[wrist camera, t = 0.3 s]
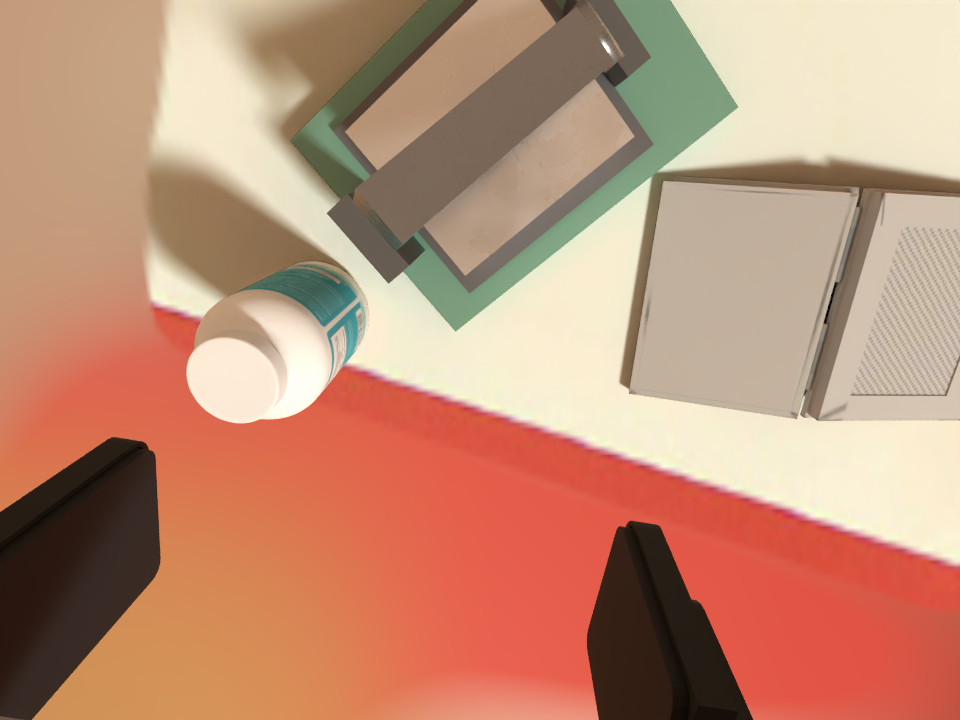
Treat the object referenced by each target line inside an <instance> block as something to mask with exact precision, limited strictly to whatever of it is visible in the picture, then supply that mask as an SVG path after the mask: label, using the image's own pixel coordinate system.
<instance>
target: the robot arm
mask: <svg viewBox="0 0 960 720" xmlns="http://www.w3.org/2000/svg"><path fill="white" fill-rule="evenodd" d="M157 500H158V499H157V480H156V459H155V454H154V452H153V451H150V450H149V449H148V446H147V445H146V443H144V442H141V441H135V440H129V439H123V438H117V437H112V438H110V439H108V440H106V441H105V442H103V443H102V444H100V445H99V446H98V447H96V448H95V449H93V450H92V451H90V452H89V453H87V454H86V455H84V456H83V457H81V458H80V459H78V460H77V461H75V462H74V463H72V464H71V465H69V466H68V467H66V468H65V469H63V470H62V471H60V472H59V473H57V474H56V475H55V476H53V477H52V478H50V479H49V480H47V481H46V482H44V483H43V484H41V485H40V486H38V487H37V488H35V489H34V490H32V491H31V492H29V493H28V494H26V495H25V496H23V497H22V498H21V499H19V500H18V501H16V502H15V503H13V504H12V505H10V506H9V507H7V508H6V509H4V510H3V511H1V512H0V720H32V719H33V718H34V716H35V715H36V714H37V713H38V712H39V711H40V710H41V708H42V707H43V706H44V705H45V704H46V703H47V701H48V700H49V699H50V698H51V697H52V696H53V694H54V693H55V692H56V691H57V690H58V689H59V688H60V686H61V685H62V684H63V683H64V682H65V680H67V678H68V677H69V676H70V675H71V674H72V673H73V671H74V670H75V669H76V668H77V667H78V666H79V664H80V663H81V662H82V661H83V660H84V659H85V657H86V656H87V655H88V654H89V653H90V652H91V650H92V649H93V648H94V647H95V646H96V645H97V644H98V642H99V641H100V640H101V639H102V638H103V637H104V636H105V634H106V633H107V632H108V631H109V630H110V629H111V627H112V626H113V625H114V624H115V623H116V622H117V620H118V619H119V618H120V617H121V616H122V614H124V612H125V611H126V610H127V609H128V608H129V607H130V606H131V604H132V603H133V602H134V601H135V600H136V598H137V597H138V596H139V595H140V594H141V593H142V592H143V591H144V589H145V588H146V587H147V586H148V585H149V584H150V582H151V581H152V580H153V579H154V577H155V575H156V574H157V572H158V569H159V565H160V542H159V519H158V501H157ZM587 650H588V656H589V662H590V668H591V674H592V680H593V687H594V692H595V699H596V704H597V711H598V716H599V720H753V718H752V716H751V714H750V711H749V710H748V707H747V705H746V703H745V700H744V698H743V696H742V693H741V691H740V689H739V687H738V684H737V682H736V680H735V678H734V675H733V673H732V671H731V669H730V667H729V664H728V662H727V660H726V657H725V655H724V653H723V651H722V649H721V646H720V644H719V642H718V639H717V637H716V635H715V633H714V630H713V628H712V626H711V624H710V621H709V620H708V617H707V615H706V612H705V610H704V609H703V607H702V605H701V604H700V603H699V602H698V601H696V600H691V598H690V596H689V593H688V591H687V588H686V586H685V584H684V581H683V579H682V577H681V574H680V572H679V570H678V567H677V565H676V562H675V560H674V558H673V556H672V553H671V551H670V549H669V546H668V544H667V542H666V539H665V537H664V534H663V532H662V530H661V528H660V526H658V525H655V524H649V523H642V522H636V521H629V522H628V524H627V525H626V527H621V526H620V527H618V529H617V531H616V534H615V537H614V541H613V544H612V548H611V552H610V555H609V558H608V562H607V565H606V569H605V572H604V576H603V579H602V583H601V586H600V590H599V594H598V597H597V600H596V604H595V607H594V611H593V614H592V618H591V621H590V625H589V629H588V634H587Z"/></svg>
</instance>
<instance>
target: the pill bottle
mask: <svg viewBox="0 0 960 720" xmlns="http://www.w3.org/2000/svg"><path fill="white" fill-rule="evenodd" d="M368 326H369V308H368V304H367V300H366V298H365V295H364V293H363V291H362V290H361V288H360V287H359V285H358V284H357V283H356V282H355V280H354V279H353V278H352V277H351V276H349V275H348V274H347V273H346V272H344V271H343V270H341V269H339V268H337V267H335V266H333V265H330V264H327V263H323V262H316V261H308V262H301V263H297V264H294V265H292V266H289V267H287V268H285V269H283V270H281V271H279V272H277V273H275V274H273V275H271V276H269V277H267V278H265V279H263V280H261V281H259V282H257V283H255V284H253V285H251V286H249V287H247V288H245V289H242V290H240V291H238V292H236V293H234V294H232V295H230V296H228V297H227V298H225V299H223V300H221V301H220V302H218V303H217V304H216V305H214V306H213V307H212V308H211V309H210V310H209V311H208V312H207V313H206V315H205V316H204V317H203V319H202V321H201V323H200V325H199V327H198V329H197V333H196V337H195V343H194V351H193V352H192V354H191V355H190V357H189V360H188V363H187V369H186V375H187V382H188V385H189V388H190V390H191V393H192V395H193V396H194V398H195V399H196V400H197V402H198V403H199V404H200V405H201V406H202V407H203V408H204V409H205V410H206V411H207V412H209V413H210V414H212V415H214V416H215V417H217V418H219V419H222V420H225V421H228V422H233V423H248V422H253V421H256V420H258V419H279V418H284V417H288V416H291V415H294V414H296V413H298V412H300V411H302V410H304V409H305V408H306V407H308V406H309V405H310V404H312V403H313V402H314V401H315V400H316V398H317V397H318V396H319V395H320V394H321V393H322V391H323V390H324V389H325V388H326V387H327V385H328V384H329V383H330V382H331V380H332V379H333V378H334V377H335V376H336V374H337V373H338V372H339V371H340V369H341V368H342V367H343V366H344V364H345V363H346V362H347V361H348V360H349V358H350V357H351V356H352V355H353V353H354V352H355V351H356V350H357V348H358V347H359V346H360V344H361V343H362V341H363V340H364V338H365V336H366V333H367V330H368Z"/></svg>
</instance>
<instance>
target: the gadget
mask: <svg viewBox="0 0 960 720" xmlns="http://www.w3.org/2000/svg"><path fill="white" fill-rule="evenodd" d="M859 188H860V187H848V186H832V185H816V184H799V183H783V182H767V181H751V180H734V179H718V178H702V177H686V176H674V180H673V181H663V184H662V190H661V196H660V202H659V209H658V215H657V221H656V227H655V233H654V240H653V246H652V252H651V258H650V264H649V270H648V277H647V283H646V289H645V295H644V301H643V307H642V314H641V320H640V326H639V332H638V338H637V344H636V351H635V357H634V363H633V369H632V375H631V381H630V388H629V394H635V395H642V396H649V397H655V398H662V399H668V400H675V401H682V402H688V403H695V404H701V405H708V406H715V407H721V408H728V409H734V410H741V411H748V412H754V413H761V414H768V415H774V416H781V417H787V418H794V419H797V416H798V413H799V409H800V405H801V402H802V398H803V395H804V391H805V389H806V390H807V393H806V396H805V400H804V404H803V407H802V411H801V414H800V415H801V416H803V417H804V418H815V419H816V420H818V421H872V420H960V193H946V192H929V191H913V190H897V189H881V188H864V189H863V193H862V196H861V200H860V204H859V207H856V204H857V201H858V197H859V194H860V193H858V192H859ZM835 282H837V286H836V289H835V293H834V296H833V300H832V304H831V307H830V311H829V314H828V318H827V321H826V323H824V319H825V316H826V312H827V309H828V305H829V301H830V298H831V294H832V291H833V287H834V283H835Z"/></svg>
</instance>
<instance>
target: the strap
mask: <svg viewBox="0 0 960 720" xmlns="http://www.w3.org/2000/svg"><path fill="white" fill-rule="evenodd" d="M624 56H625V54H624V52H623V51H622V49H621V48H620V46H619V45H618V43H617V42H616V40H615V39H614V37H613V36H612V34H611V33H610V31H609V30H608V28H607V27H606V25H605V24H604V22H603V21H602V19H601V18H600V16H599V15H598V14H597V12H596V11H595V9H594V8H593V6H592V5H591V3H590V2H589V0H580V1H579V2H578V3H577V4H576V5H575V6H574V7H573V8H572V9H571V10H570V11H569V12H568V13H567V15H566V16H565V17H564V18H562V19H561V20H560V21H559V22H558V23H556V24H555V25H554V26H553V27H551V28H550V29H549V30H548V31H547V32H545V33H544V34H543V35H542V36H540V37H539V38H538V39H537V40H536V41H534V42H533V43H532V44H531V45H530V46H528V47H527V48H526V49H525V50H523V51H522V52H521V53H520V54H519V55H517V56H516V57H515V58H514V59H513V60H511V61H510V62H509V63H508V64H506V65H505V66H504V67H503V68H502V69H500V70H499V71H498V72H497V73H495V74H494V75H493V76H492V77H491V78H489V79H488V80H487V81H486V82H485V83H483V84H482V85H481V86H480V87H478V88H477V89H476V90H475V91H474V92H472V93H471V94H470V95H469V96H467V97H466V98H465V99H464V100H463V101H461V102H460V103H459V104H458V105H457V106H455V107H454V108H453V109H452V110H450V111H449V112H448V113H447V114H446V115H444V116H443V117H442V118H441V119H439V120H438V121H437V122H436V123H435V124H433V125H432V126H431V127H430V128H429V129H427V130H426V131H425V132H424V133H422V134H421V135H420V136H419V137H418V138H416V139H415V140H414V141H413V142H411V143H410V144H409V145H408V146H407V147H405V148H404V149H403V150H402V151H401V152H399V153H398V154H397V155H396V156H394V157H393V158H392V159H391V160H390V161H388V162H387V163H386V164H385V165H383V166H382V167H381V168H380V169H379V170H377V171H376V172H375V173H374V174H373V175H371V176H370V177H369V178H368V179H366V180H365V181H364V182H363V183H362V184H360V185H359V186H358V187H357V188H355V193H354V198H353V203H354V204H355V205H356V207H357V208H358V209H359V210H360V211H361V212H362V213H363V215H364V216H365V217H366V218H367V219H368V220H369V222H370V223H371V224H372V225H373V226H374V227H375V229H376V230H377V231H378V232H379V233H380V234H381V236H382V237H383V238H384V239H385V240H386V241H387V243H388V244H389V245H390V246H391V247H392V248H393V249H394V251H396V250H398V249H399V248H400V247H401V246H402V245H403V244H404V243H406V242H407V241H408V240H409V239H410V238H411V237H412V236H413V235H414V234H415V233H416V232H417V231H418V230H420V229H421V228H422V227H423V226H424V225H425V224H427V223H428V222H429V221H430V220H431V219H432V218H434V217H435V216H436V215H437V214H438V213H439V212H441V211H442V210H443V209H444V208H445V207H446V206H448V205H449V204H450V203H451V202H452V201H453V200H455V199H456V198H457V197H458V196H459V195H460V194H462V193H463V192H464V191H465V190H466V189H467V188H468V187H470V186H471V185H472V184H473V183H474V182H475V181H477V180H478V179H479V178H480V177H481V176H482V175H484V174H485V173H486V172H487V171H488V170H489V169H491V168H492V167H493V166H494V165H495V164H496V163H498V162H499V161H500V160H501V159H502V158H503V157H505V156H506V155H507V154H508V153H509V152H510V151H512V150H513V149H514V148H515V147H516V146H517V145H519V144H520V143H521V142H522V141H523V140H524V139H526V138H527V137H528V136H529V135H530V134H531V133H533V132H534V131H535V130H536V129H537V128H538V127H540V126H541V125H542V124H543V123H544V122H545V121H547V120H548V119H549V118H550V117H551V116H552V115H553V114H555V113H556V112H557V111H558V110H559V109H560V108H562V107H563V106H564V105H565V104H566V103H567V102H569V101H570V100H571V99H572V98H573V97H574V96H576V95H577V94H578V93H579V92H580V91H581V90H583V89H584V88H585V87H586V86H587V85H588V84H590V83H591V82H592V81H593V80H594V79H595V78H597V77H598V76H599V75H600V74H601V73H602V72H604V73H606V72H607V71H608V70H609V69H610V68H611V67H613V66H614V65H615V64H616V63H617V62H618V61H619V60H621V59H622V58H623V57H624Z"/></svg>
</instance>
